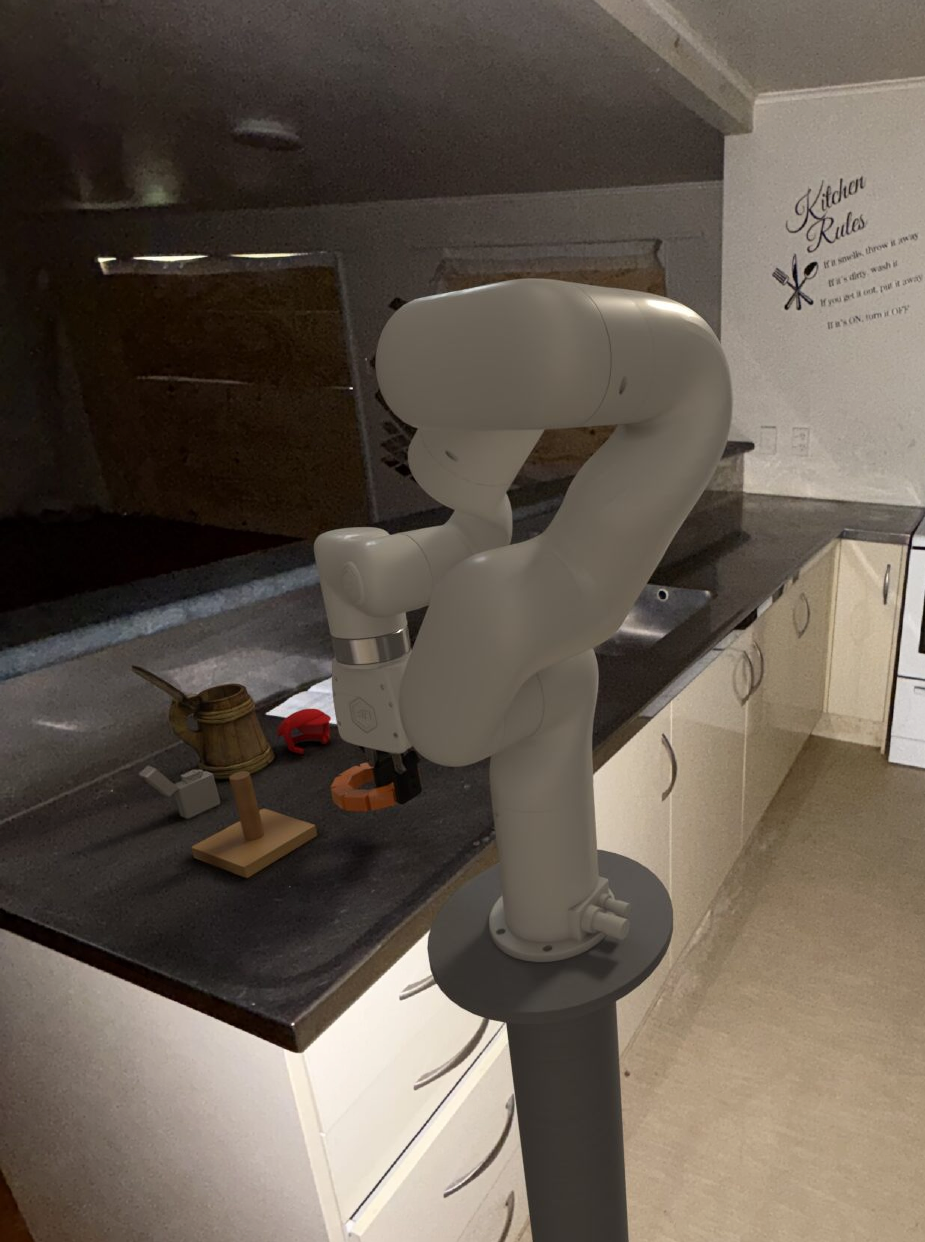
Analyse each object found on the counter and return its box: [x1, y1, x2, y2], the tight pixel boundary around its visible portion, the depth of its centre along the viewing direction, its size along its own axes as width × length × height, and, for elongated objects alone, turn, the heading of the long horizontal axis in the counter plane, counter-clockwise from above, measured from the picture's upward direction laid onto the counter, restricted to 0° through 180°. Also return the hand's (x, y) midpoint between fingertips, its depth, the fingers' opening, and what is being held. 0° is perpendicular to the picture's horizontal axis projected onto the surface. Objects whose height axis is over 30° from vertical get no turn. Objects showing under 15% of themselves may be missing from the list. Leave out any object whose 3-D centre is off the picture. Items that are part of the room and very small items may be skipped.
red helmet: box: [276, 708, 332, 755], centre depth 110 cm, size 8×6×6 cm
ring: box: [329, 762, 422, 812], centre depth 87 cm, size 9×10×2 cm
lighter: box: [138, 765, 221, 819], centre depth 92 cm, size 7×2×8 cm, turn 153°
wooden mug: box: [131, 664, 275, 781], centre depth 101 cm, size 9×14×18 cm, turn 148°
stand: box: [190, 771, 318, 879], centre depth 86 cm, size 9×9×10 cm
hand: (400, 794), depth 86 cm, fingers closed on ring, 2 cm apart
